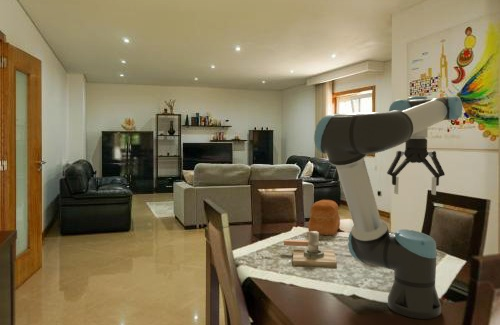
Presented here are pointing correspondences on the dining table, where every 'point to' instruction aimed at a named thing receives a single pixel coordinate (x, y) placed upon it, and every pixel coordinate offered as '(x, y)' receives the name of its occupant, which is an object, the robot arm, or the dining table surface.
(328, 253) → the stool seat
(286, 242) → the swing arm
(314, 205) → the bread
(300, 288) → the dining table surface
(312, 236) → the leg peg
